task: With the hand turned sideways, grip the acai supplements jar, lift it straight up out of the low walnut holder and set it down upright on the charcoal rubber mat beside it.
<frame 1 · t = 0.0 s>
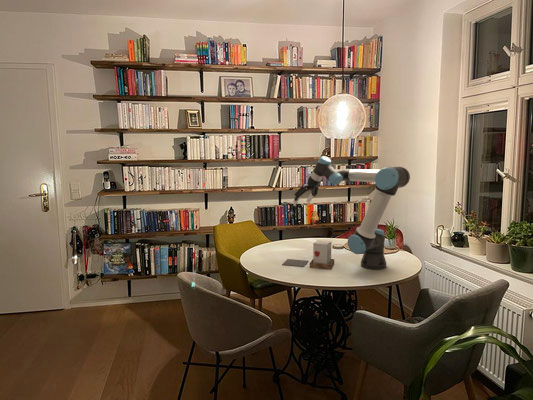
hand: (300, 203, 252), 36 cm above the table, tool tilted 35°, fingers open, 13 cm apart
supplement box: (322, 266, 232), resting in walnut holder
walnut holder: (322, 265, 232), on the table
charcoal mat: (295, 263, 237), on the table
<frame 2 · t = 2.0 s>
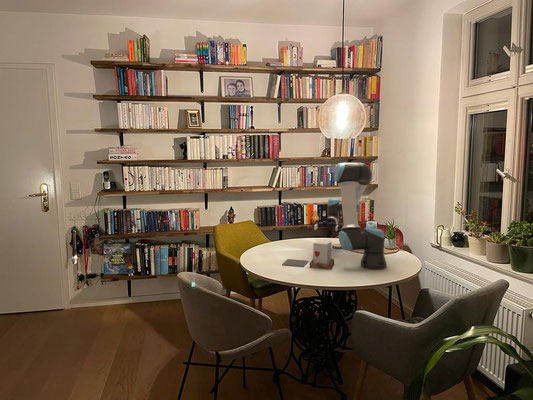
hand: (325, 228, 239), 21 cm above the table, tool horizontal, fingers open, 13 cm apart
nothing on the table moved.
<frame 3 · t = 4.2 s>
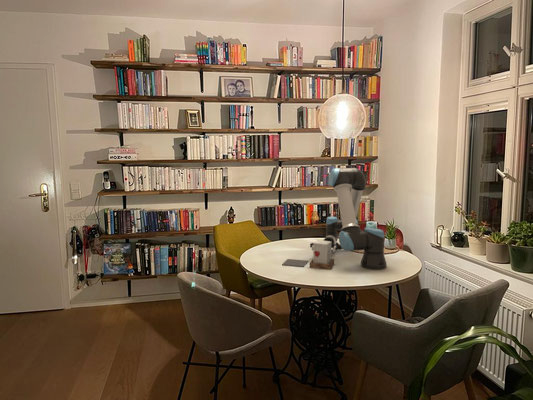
hand: (323, 249, 236), 9 cm above the table, tool horizontal, fingers open, 13 cm apart
nothing on the table moved.
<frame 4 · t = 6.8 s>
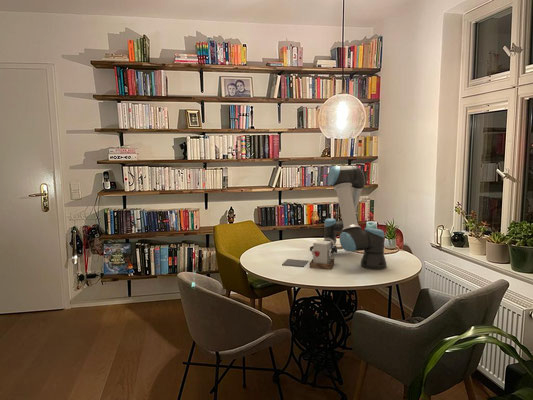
hand: (320, 253, 226), 9 cm above the table, tool horizontal, fingers closed on supplement box, 10 cm apart
supplement box: (322, 265, 232), resting in walnut holder, touching gripper
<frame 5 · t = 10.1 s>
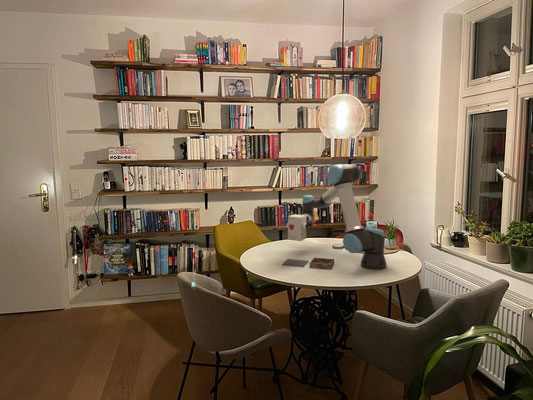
hand: (295, 226, 231), 24 cm above the table, tool horizontal, fingers closed on supplement box, 10 cm apart
supplement box: (297, 239, 236), point 15 cm above the table, touching gripper
when the fingers open (11 cm above the table, at t = 13.6 s): supplement box drops 1 cm, resting on charcoal mat.
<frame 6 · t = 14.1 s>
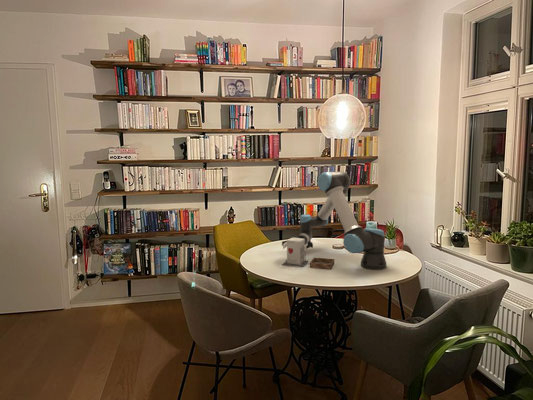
hand: (294, 247, 233), 11 cm above the table, tool horizontal, fingers open, 13 cm apart
supplement box: (295, 262, 237), resting on charcoal mat
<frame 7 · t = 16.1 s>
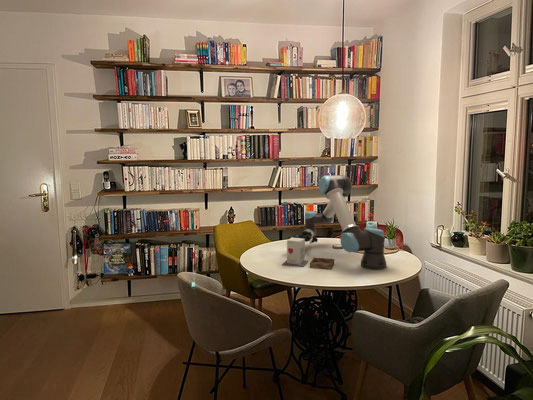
hand: (299, 241, 245), 12 cm above the table, tool horizontal, fingers open, 13 cm apart
nothing on the table moved.
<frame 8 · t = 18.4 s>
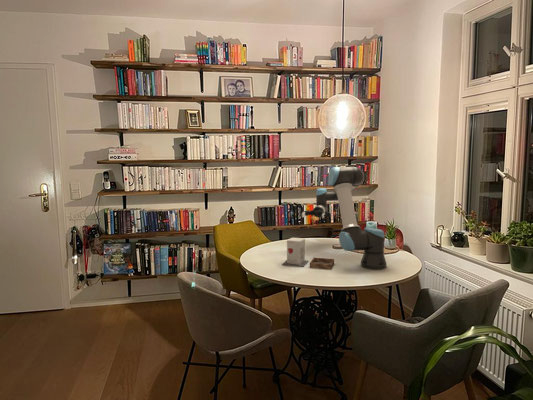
hand: (312, 215, 248), 28 cm above the table, tool horizontal, fingers open, 13 cm apart
nothing on the table moved.
at the end: supplement box inside the target area on the charcoal mat (0.2 cm from its centre), point 0.4 cm above the charcoal mat's base; supplement box tilted 0°; the gripper is holding nothing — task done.
